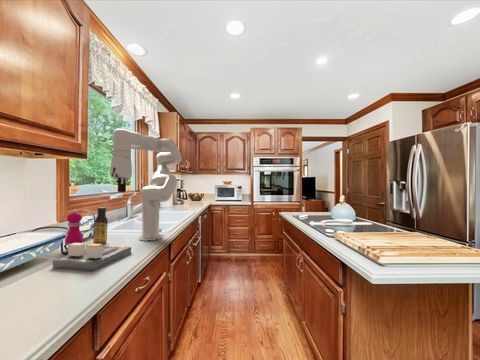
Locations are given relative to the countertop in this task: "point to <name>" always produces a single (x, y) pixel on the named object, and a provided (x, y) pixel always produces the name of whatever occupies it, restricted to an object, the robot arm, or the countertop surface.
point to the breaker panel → (92, 259)
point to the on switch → (76, 249)
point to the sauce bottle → (100, 227)
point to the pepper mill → (74, 228)
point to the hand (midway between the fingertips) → (121, 191)
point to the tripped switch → (94, 250)
